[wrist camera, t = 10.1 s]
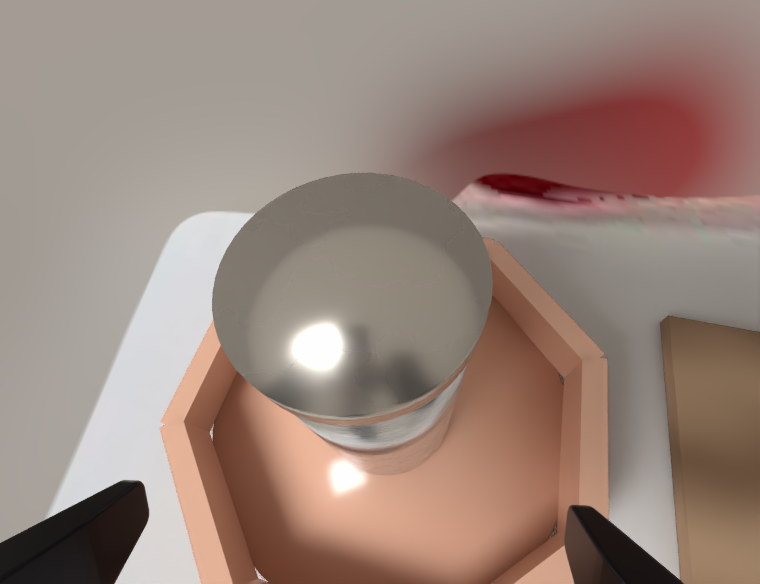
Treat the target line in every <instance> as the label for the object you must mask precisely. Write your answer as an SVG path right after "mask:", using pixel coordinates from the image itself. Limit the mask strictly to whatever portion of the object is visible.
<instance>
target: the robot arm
mask: <svg viewBox="0 0 760 584" xmlns="http://www.w3.org/2000/svg"><path fill="white" fill-rule="evenodd" d="M148 518H149V507H148V502H147V497H146V492H145V487H144V484H143V483H142V482H141V481H134V480H123V481H120V482H118V483H116V484H114V485H112V486H110V487H108V488H106V489H104V490H102V491H100V492H98V493H96V494H94V495H93V496H91V497H89V498H87V499H85V500H83V501H81V502H79V503H77V504H75V505H73V506H71V507H69V508H67V509H65V510H63V511H61V512H60V513H58V514H56V515H54V516H52V517H50V518H48V519H46V520H44V521H42V522H40V523H38V524H36V525H34V526H32V527H30V528H28V529H27V530H25V531H23V532H21V533H19V534H17V535H15V536H13V537H11V538H9V539H7V540H5V541H3V542H1V543H0V584H114V583H115V582H116V580H117V578H118V576H119V574H120V572H121V570H122V569H123V567H124V565H125V563H126V561H127V559H128V558H129V556H130V554H131V552H132V550H133V548H134V546H135V545H136V543H137V541H138V539H139V537H140V535H141V534H142V532H143V530H144V528H145V526H146V524H147V521H148ZM564 545H565V551H566V555H567V559H568V562H569V566H570V570H571V573H572V577H573V580H574V584H684V583H683V582H682V581H681V580H679V579H678V578H677V577H676V576H675V575H673V574H672V573H671V572H670V571H669V570H667V569H666V568H665V567H664V566H663V565H661V564H660V563H659V562H658V561H657V560H655V559H654V558H653V557H652V556H651V555H649V554H648V553H647V552H646V551H645V550H644V549H642V548H641V547H640V546H639V545H638V544H636V543H635V542H634V541H633V540H632V539H630V538H629V537H628V536H627V535H626V534H624V533H623V532H622V531H621V530H620V529H618V528H617V527H616V526H615V525H614V524H613V523H611V522H610V521H609V520H608V519H607V518H605V517H604V516H603V515H602V514H601V513H599V512H598V511H597V510H596V509H595V508H593V507H591V506H588V505H571V506H569V508H568V511H567V518H566V527H565V535H564Z"/></svg>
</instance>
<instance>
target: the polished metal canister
mask: <svg viewBox="0 0 760 584" xmlns="http://www.w3.org/2000/svg"><path fill="white" fill-rule="evenodd" d="M492 287H493V280H492V267H491V263H490V259H489V255H488V251H487V249H486V246H485V244H484V241H483V239H482V237H481V235H480V234H479V232H478V230H477V229H476V227H475V225H474V224H473V223H472V222H471V220H470V219H469V218H468V217H467V215H466V214H465V213H464V212H463V211H462V210H461V209H460V208H459V207H458V206H457V205H456V204H454V203H453V202H452V201H450V200H449V199H448V198H446V197H445V196H444V195H442V194H440V193H439V192H437V191H435V190H433V189H431V188H430V187H428V186H425V185H423V184H420V183H418V182H416V181H412V180H409V179H406V178H402V177H398V176H393V175H387V174H376V173H351V174H341V175H336V176H331V177H325V178H322V179H319V180H315V181H312V182H309V183H306V184H304V185H301V186H299V187H296V188H294V189H292V190H290V191H288V192H287V193H285V194H282V195H281V196H279V197H278V198H276V199H275V200H273V201H271V202H270V203H269V204H267V205H266V206H265V207H263V208H262V209H261V210H260V211H258V212H257V213H256V214H255V215H254V216H253V217H252V218H251V219H250V220H249V221H248V222H247V223H246V224H245V225H244V226H243V227H242V228H241V230H240V231H239V232H238V233H237V235H236V236H235V237H234V239H233V240H232V242H231V243H230V245H229V247H228V248H227V250H226V252H225V254H224V256H223V258H222V260H221V262H220V265H219V268H218V271H217V274H216V277H215V283H214V288H213V298H212V312H213V320H214V326H215V329H216V333H217V336H218V340H219V342H220V344H221V346H222V348H223V350H224V352H225V355H226V356H227V358H228V359H229V361H230V362H231V363H232V365H233V366H234V368H235V369H236V370H237V371H238V372H239V373H240V374H241V375H242V376H243V377H244V378H245V379H246V381H247V382H248V383H250V384H251V385H252V386H253V387H254V388H256V389H257V390H258V391H259V392H261V393H262V394H263V395H264V396H265V397H267V398H268V399H269V400H271V401H272V402H273V403H275V404H276V405H277V406H279V407H281V408H282V409H284V410H286V411H288V412H290V413H292V414H293V415H294V416H296V417H297V418H298V419H299V420H300V421H301V422H302V423H304V424H305V425H306V426H307V427H308V428H309V429H310V430H312V431H313V432H314V433H315V434H316V435H317V436H318V437H320V438H321V439H322V440H323V441H324V442H325V443H326V444H328V445H329V446H330V447H331V448H332V449H333V450H334V451H336V452H337V453H338V454H339V455H340V456H341V457H342V458H344V459H345V460H346V461H347V462H349V463H350V464H351V465H352V466H354V467H356V468H358V469H360V470H362V471H364V472H367V473H370V474H375V475H382V476H390V475H398V474H403V473H406V472H409V471H411V470H413V469H415V468H417V467H419V466H420V465H422V464H423V463H424V462H426V461H427V460H428V459H429V458H430V457H431V456H432V455H433V454H434V453H435V451H436V450H437V449H438V448H439V446H440V444H441V442H442V441H443V438H444V436H445V433H446V431H447V428H448V424H449V421H450V418H451V415H452V412H453V408H454V405H455V402H456V399H457V395H458V392H459V389H460V386H461V383H462V379H463V376H464V373H465V370H466V367H467V364H468V362H469V360H470V359H471V357H472V355H473V354H474V352H475V349H476V347H477V344H478V342H479V340H480V337H481V334H482V331H483V328H484V325H485V322H486V319H487V316H488V312H489V308H490V304H491V299H492Z"/></svg>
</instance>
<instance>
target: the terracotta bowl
mask: <svg viewBox="0 0 760 584" xmlns="http://www.w3.org/2000/svg"><path fill="white" fill-rule="evenodd" d="M482 239H483V241H484V244H485V246H486V249H487V251H488V255H489V259H490V263H491V267H492V280H493V287H492V299H491V304H490V308H489V312H488V316H487V319H486V322H485V325H484V328H483V331H482V334H481V337H480V340H479V342H478V344H477V347H476V349H475V352H474V354H473V355H472V357H471V359H470V360H469V362H468V364H467V367H466V370H465V373H464V376H463V379H462V383H461V386H460V389H459V392H458V395H457V399H456V402H455V405H454V408H453V412H452V415H451V418H450V421H449V424H448V428H447V431H446V433H445V436H444V438H443V441H442V442H441V444H440V446H439V448H438V449H437V450H436V451H435V453H434V454H433V455H432V456H431V457H430V458H429V459H428V460H427V461H426V462H424V463H423V464H422V465H420V466H419V467H417V468H415V469H413V470H411V471H409V472H406V473H403V474H398V475H390V476H382V475H375V474H370V473H367V472H364V471H362V470H360V469H358V468H356V467H354V466H352V465H351V464H350V463H349V462H347V461H346V460H345V459H344V458H342V457H341V456H340V455H339V454H338V453H337V452H336V451H334V450H333V449H332V448H331V447H330V446H329V445H328V444H326V443H325V442H324V441H323V440H322V439H321V438H320V437H318V436H317V435H316V434H315V433H314V432H313V431H312V430H310V429H309V428H308V427H307V426H306V425H305V424H304V423H302V422H301V421H300V420H299V419H298V418H297V417H296V416H294V415H293V414H292V413H290V412H288V411H286V410H284V409H282V408H281V407H279V406H277V405H276V404H275V403H273V402H272V401H271V400H269V399H268V398H267V397H265V396H264V395H263V394H262V393H261V392H259V391H258V390H257V389H256V388H254V387H253V386H252V385H251V384H250V383H248V382H247V381H246V379H245V378H244V377H243V376H242V375H241V374H240V373H239V372H238V371H237V370H236V369H235V368H234V366H233V365H232V363H231V362H230V361H229V359H228V358H227V356H226V355H225V352H224V350H223V348H222V346H221V344H220V342H219V340H218V336H217V333H216V329H215V326H214V320H213V321H212V323H211V325H210V327H209V329H208V330H207V332H206V334H205V336H204V338H203V340H202V342H201V344H200V346H199V348H198V350H197V352H196V354H195V356H194V358H193V359H192V361H191V363H190V365H189V367H188V369H187V371H186V373H185V375H184V377H183V379H182V381H181V383H180V385H179V387H178V389H177V390H176V392H175V394H174V396H173V398H172V400H171V402H170V404H169V406H168V408H167V410H166V412H165V414H164V416H163V418H162V419H161V421H160V422H162V423H164V424H165V425H163V426H161V427H160V432H161V435H162V439H163V443H164V447H165V450H166V454H167V458H168V461H169V465H170V469H171V473H172V476H173V480H174V484H175V487H176V491H177V495H178V499H179V502H180V506H181V510H182V514H183V517H184V521H185V525H186V528H187V532H188V536H189V540H190V543H191V547H192V551H193V554H194V558H195V562H196V566H197V569H198V573H199V577H200V581H201V584H574V580H573V577H572V573H571V570H570V566H569V562H568V559H567V555H566V551H565V545H564V535H565V527H566V518H567V511H568V508H569V506H571V505H588V506H591V507H593V508H595V509H596V510H597V511H598V512H599V513H601V514H602V515H603V516H604V517H605V518H607V519H608V520H609V491H608V367H607V359H605V358H601V357H602V356H603V355H604V354H605V353H604V352H603V351H602V350H601V349H600V348H599V347H598V346H597V345H596V344H595V343H594V342H593V341H592V339H591V338H590V337H589V336H588V335H587V334H586V333H585V332H584V331H583V330H582V329H581V328H580V327H579V326H578V325H577V324H576V323H575V322H574V321H573V319H572V318H571V317H570V316H569V315H568V314H567V313H566V312H565V311H564V310H563V309H562V308H561V307H560V306H559V305H558V304H557V303H556V302H555V301H554V300H553V298H552V297H551V296H550V295H549V294H548V293H547V292H546V291H545V290H544V289H543V288H542V287H541V286H540V285H539V284H538V283H537V282H536V281H535V280H534V278H533V277H532V276H531V275H530V274H529V273H528V272H527V271H526V270H525V269H524V268H523V267H522V266H521V265H520V264H519V263H518V262H517V261H516V260H515V259H514V257H513V256H512V255H511V254H510V253H509V252H508V251H507V250H506V249H505V248H504V247H503V246H502V245H501V244H500V243H499V242H497V243H495V244H494V239H488V238H482ZM557 371H558V372H559V373H560V374H561V376H562V377H563V378H564V387H563V385H562V382H561V379H560V376H559V374H558V372H557ZM213 424H214V427H213V441H212V438H211V435H210V431H211V428H212V426H213ZM556 522H557V533H556V534H555V535H554V536H552V537H551V538H550V539H548V538H549V537H550V535H551V533H552V531H553V529H554V527H555V524H556ZM254 567H255V568H256V569H257V570H258V572H259V573H260V574H261V575H262V576H263V577H264V578H265V579H266V580H267V581H268V582H266V581H263V580H261V579H258V577H257V574H256V571H255V568H254Z"/></svg>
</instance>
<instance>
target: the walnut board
mask: <svg viewBox="0 0 760 584" xmlns="http://www.w3.org/2000/svg"><path fill="white" fill-rule="evenodd" d="M660 324H661V337H662V350H663V362H664V375H665V388H666V400H667V413H668V426H669V438H670V451H671V464H672V477H673V489H674V502H675V515H676V527H677V540H678V553H679V565H680V578H681V581H682V582H683V583H684V584H760V332H757V331H751V330H745V329H740V328H734V327H729V326H723V325H717V324H712V323H706V322H701V321H695V320H689V319H684V318H678V317H673V316H668V317H666V318H665V319H664V320H663V321H662V322H660Z"/></svg>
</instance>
